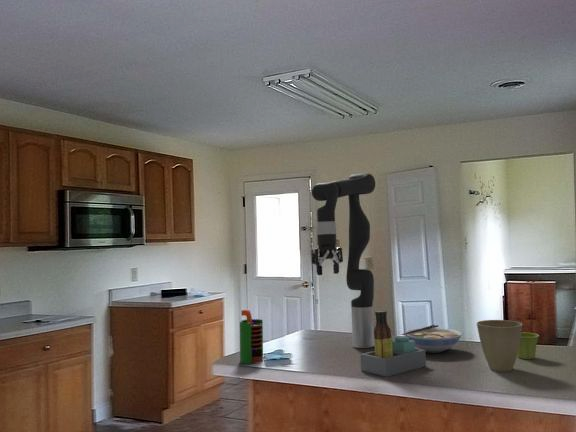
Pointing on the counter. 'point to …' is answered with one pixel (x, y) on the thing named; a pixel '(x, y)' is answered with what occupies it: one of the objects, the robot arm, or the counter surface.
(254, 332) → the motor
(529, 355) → the plant pot
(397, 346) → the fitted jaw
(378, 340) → the sauce bottle
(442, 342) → the ramen bowl
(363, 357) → the box
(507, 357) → the plant pot
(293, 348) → the counter surface
